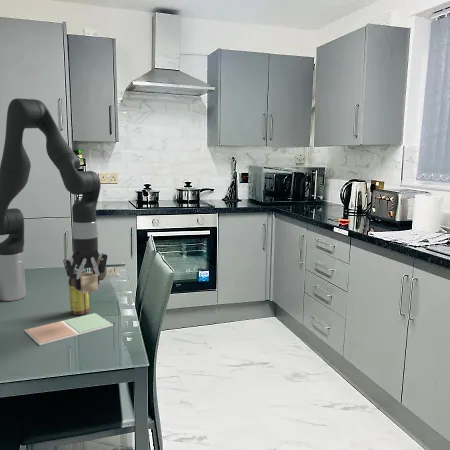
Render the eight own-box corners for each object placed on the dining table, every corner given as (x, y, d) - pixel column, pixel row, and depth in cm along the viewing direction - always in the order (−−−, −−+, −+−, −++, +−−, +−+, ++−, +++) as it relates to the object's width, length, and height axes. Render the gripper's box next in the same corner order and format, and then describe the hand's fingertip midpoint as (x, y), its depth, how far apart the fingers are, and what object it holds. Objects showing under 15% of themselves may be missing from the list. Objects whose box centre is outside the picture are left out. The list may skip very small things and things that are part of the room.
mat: (24, 331, 137) (24, 329, 137) (95, 314, 152) (95, 312, 152) (39, 345, 128) (39, 343, 127) (113, 326, 143) (113, 324, 143)
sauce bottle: (82, 307, 158) (80, 253, 154) (93, 312, 154) (91, 256, 150) (66, 312, 153) (63, 256, 149) (76, 317, 149) (74, 259, 145)
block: (83, 293, 138) (82, 277, 137) (76, 289, 142) (75, 274, 141) (98, 290, 142) (97, 275, 141) (91, 286, 145) (90, 271, 144)
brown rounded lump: (90, 276, 195) (89, 257, 193) (106, 275, 197) (106, 256, 195) (90, 281, 188) (90, 261, 187) (107, 280, 190) (107, 260, 189)
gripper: (101, 231, 146) (102, 281, 149) (57, 236, 137) (60, 289, 140) (111, 234, 141) (113, 286, 144) (67, 240, 131) (69, 295, 134)
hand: (86, 288), depth 142 cm, fingers closed on block, 5 cm apart
